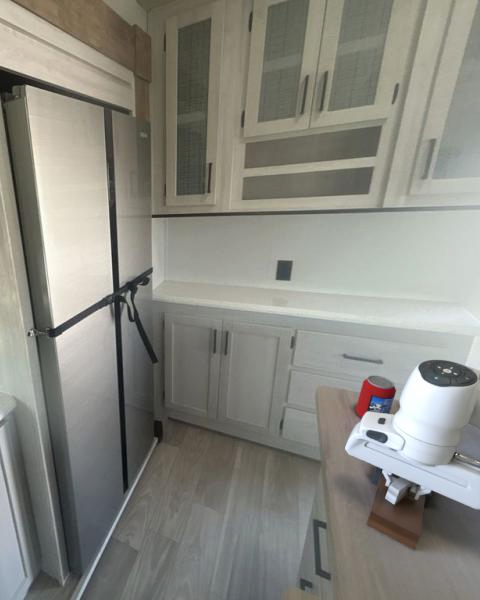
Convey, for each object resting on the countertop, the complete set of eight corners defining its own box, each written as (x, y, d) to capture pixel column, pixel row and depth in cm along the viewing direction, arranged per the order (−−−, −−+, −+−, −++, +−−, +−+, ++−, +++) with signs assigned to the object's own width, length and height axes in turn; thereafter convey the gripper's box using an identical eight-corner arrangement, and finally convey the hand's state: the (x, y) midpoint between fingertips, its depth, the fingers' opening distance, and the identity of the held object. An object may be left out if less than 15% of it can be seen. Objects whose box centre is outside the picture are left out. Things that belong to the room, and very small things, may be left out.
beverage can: (374, 427, 89) (385, 391, 84) (349, 411, 95) (358, 377, 91) (392, 421, 90) (404, 385, 86) (367, 405, 96) (376, 371, 92)
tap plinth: (414, 550, 62) (420, 536, 61) (366, 524, 67) (371, 511, 66) (419, 508, 69) (425, 495, 67) (375, 488, 74) (380, 475, 72)
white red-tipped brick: (394, 504, 66) (399, 490, 65) (384, 498, 68) (390, 483, 66) (416, 487, 69) (421, 473, 67) (406, 481, 70) (411, 467, 69)
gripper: (505, 459, 57) (477, 513, 63) (357, 408, 72) (344, 454, 77) (508, 483, 54) (478, 538, 59) (350, 424, 68) (337, 472, 73)
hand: (401, 490), depth 68 cm, fingers closed on white red-tipped brick, 2 cm apart
